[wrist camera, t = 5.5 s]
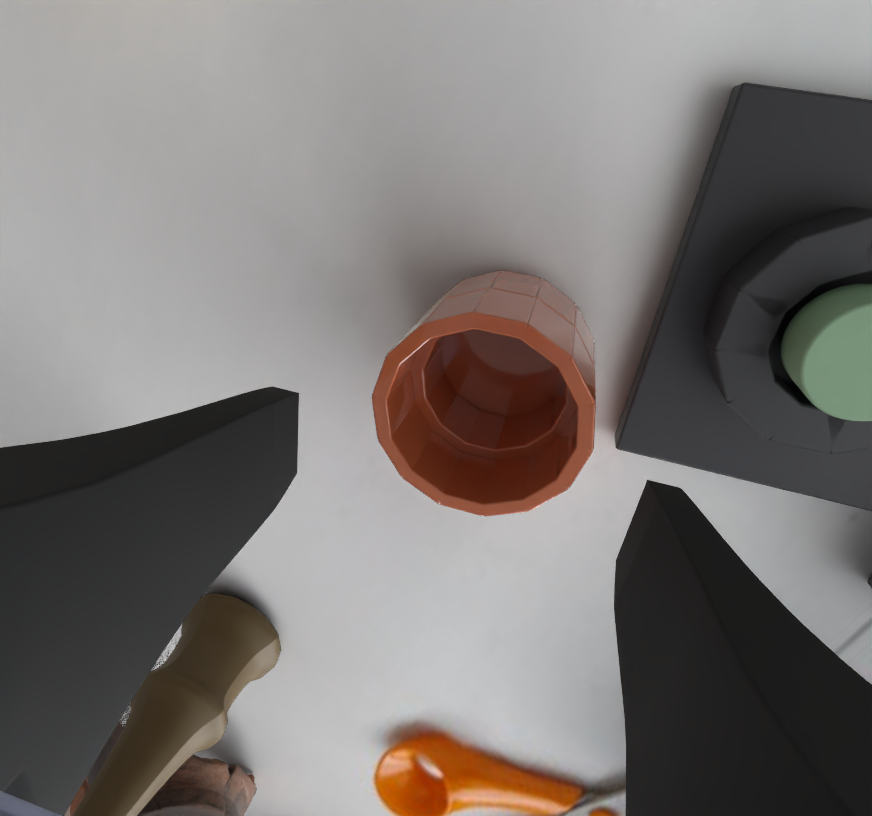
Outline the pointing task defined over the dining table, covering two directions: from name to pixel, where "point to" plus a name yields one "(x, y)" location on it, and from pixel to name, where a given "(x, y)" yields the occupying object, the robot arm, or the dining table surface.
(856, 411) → the tare button
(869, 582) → the scale
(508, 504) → the terracotta flower pot
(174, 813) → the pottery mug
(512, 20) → the dining table surface
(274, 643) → the kendama
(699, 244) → the pad
